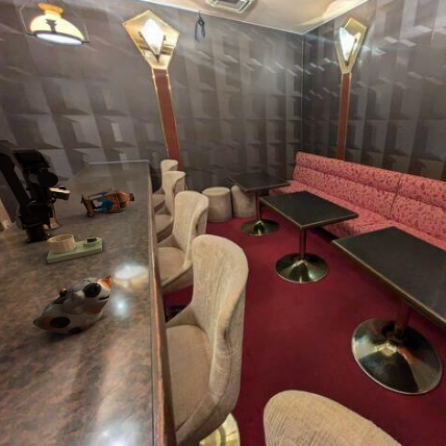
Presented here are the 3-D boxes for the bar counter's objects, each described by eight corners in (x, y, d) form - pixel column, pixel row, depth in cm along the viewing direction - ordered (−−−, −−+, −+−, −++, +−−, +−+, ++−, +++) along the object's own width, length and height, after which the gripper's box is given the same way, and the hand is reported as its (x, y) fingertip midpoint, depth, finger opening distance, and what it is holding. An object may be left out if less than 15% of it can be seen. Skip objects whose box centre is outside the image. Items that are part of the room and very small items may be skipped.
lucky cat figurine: (71, 302, 72) (89, 260, 72) (112, 317, 74) (130, 275, 73) (18, 328, 57) (40, 275, 57) (71, 346, 59) (93, 294, 58)
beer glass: (49, 230, 118) (38, 200, 112) (37, 229, 119) (26, 199, 114) (64, 225, 124) (55, 197, 119) (53, 224, 125) (43, 195, 120)
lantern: (90, 226, 140) (139, 214, 157) (86, 210, 129) (139, 199, 146) (79, 203, 144) (128, 194, 161) (75, 186, 132) (128, 178, 149)
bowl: (52, 248, 98) (48, 237, 97) (77, 243, 103) (73, 232, 101) (50, 255, 93) (46, 244, 91) (76, 250, 97) (72, 239, 95)
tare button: (87, 243, 101) (86, 239, 100) (87, 240, 103) (86, 237, 102) (96, 241, 102) (95, 238, 102) (96, 239, 104) (95, 235, 104)
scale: (48, 263, 91) (45, 255, 90) (52, 251, 100) (49, 243, 99) (103, 251, 101) (101, 244, 100) (102, 241, 110) (100, 234, 108)
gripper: (62, 186, 91) (75, 225, 97) (66, 177, 105) (77, 211, 111) (19, 189, 85) (35, 231, 91) (29, 179, 98) (42, 215, 104)
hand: (50, 221), depth 99 cm, fingers open, 9 cm apart
